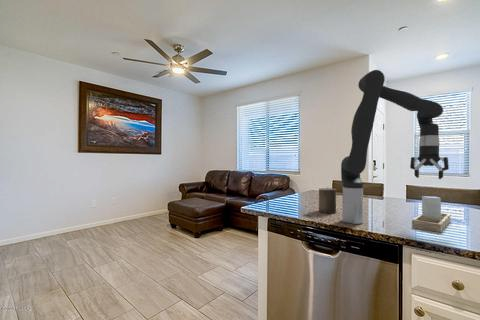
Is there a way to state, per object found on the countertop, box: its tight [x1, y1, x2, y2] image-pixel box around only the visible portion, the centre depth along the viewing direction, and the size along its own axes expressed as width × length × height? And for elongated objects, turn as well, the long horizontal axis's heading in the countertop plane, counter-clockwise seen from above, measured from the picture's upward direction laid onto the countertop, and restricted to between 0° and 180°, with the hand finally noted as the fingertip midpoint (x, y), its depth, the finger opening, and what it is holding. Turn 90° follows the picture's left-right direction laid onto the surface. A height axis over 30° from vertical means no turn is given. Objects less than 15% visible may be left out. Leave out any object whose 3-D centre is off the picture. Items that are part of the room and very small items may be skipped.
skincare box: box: [421, 195, 442, 220], centre depth 109 cm, size 6×4×12 cm
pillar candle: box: [318, 186, 337, 214], centre depth 134 cm, size 10×10×15 cm
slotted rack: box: [411, 212, 451, 233], centre depth 109 cm, size 27×10×4 cm, turn 130°
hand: (428, 178), depth 110 cm, fingers open, 8 cm apart
